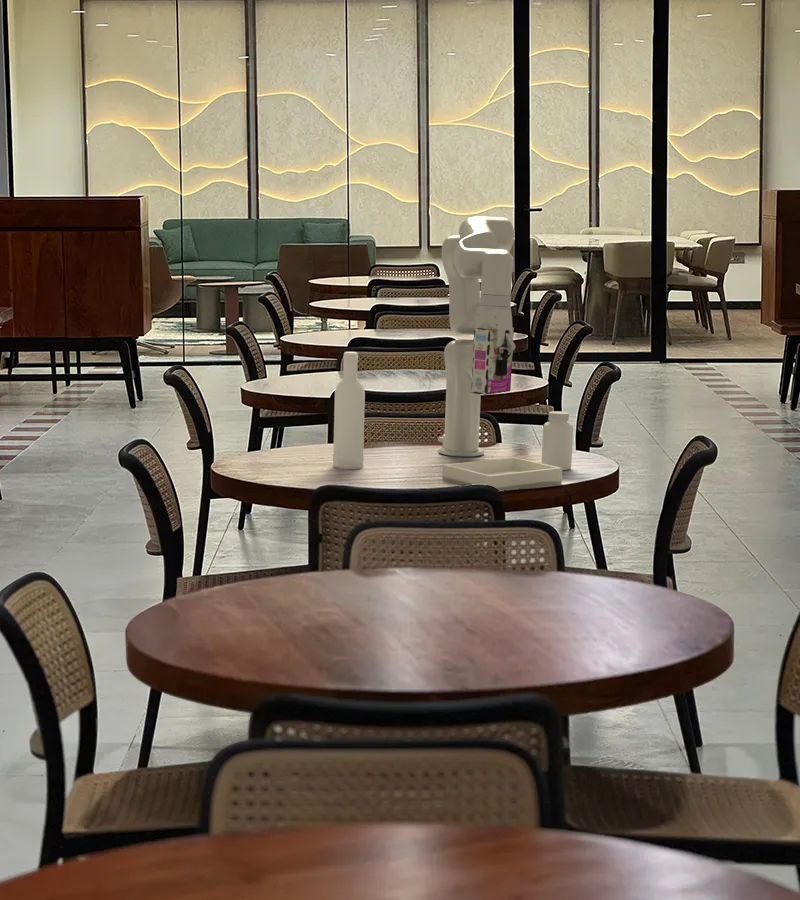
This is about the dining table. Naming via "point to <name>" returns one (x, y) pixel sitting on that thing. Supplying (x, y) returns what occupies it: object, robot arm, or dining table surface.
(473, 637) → the dining table surface
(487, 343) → the candy bar box
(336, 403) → the bottle
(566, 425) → the pill bottle
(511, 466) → the tray
